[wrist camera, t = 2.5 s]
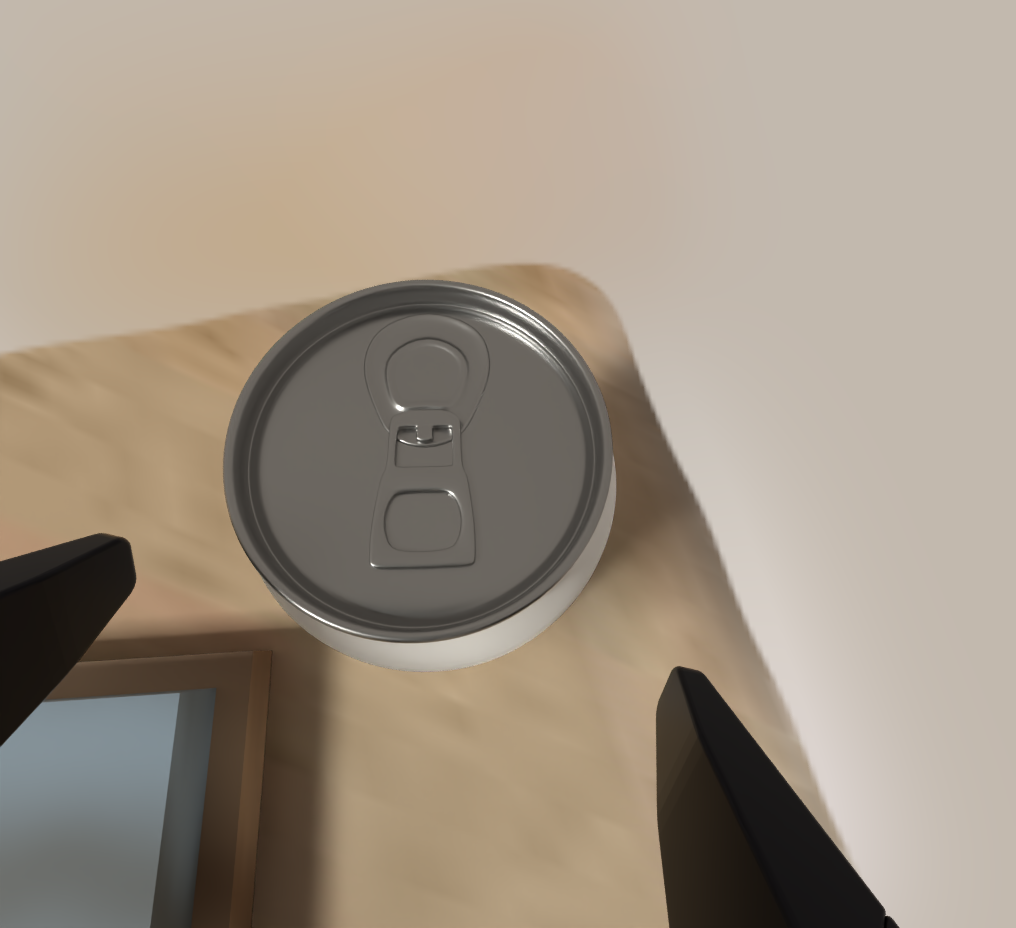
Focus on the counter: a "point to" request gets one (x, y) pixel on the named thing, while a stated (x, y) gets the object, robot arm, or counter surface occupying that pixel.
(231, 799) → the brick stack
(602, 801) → the counter surface
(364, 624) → the can
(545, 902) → the counter surface
